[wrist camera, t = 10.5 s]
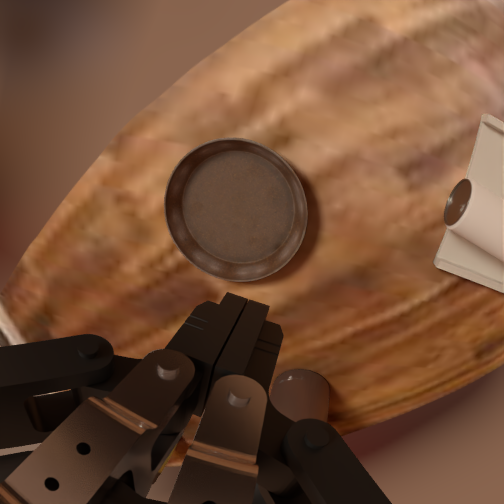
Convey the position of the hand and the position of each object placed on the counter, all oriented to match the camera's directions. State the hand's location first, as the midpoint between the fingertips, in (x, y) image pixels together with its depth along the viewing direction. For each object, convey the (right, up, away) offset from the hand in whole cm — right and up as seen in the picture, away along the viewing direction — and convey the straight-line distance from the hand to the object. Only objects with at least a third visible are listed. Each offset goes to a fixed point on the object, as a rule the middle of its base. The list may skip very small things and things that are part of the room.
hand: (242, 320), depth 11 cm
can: (+23, +8, +19) cm, 31 cm away
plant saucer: (-1, +8, +30) cm, 31 cm away
